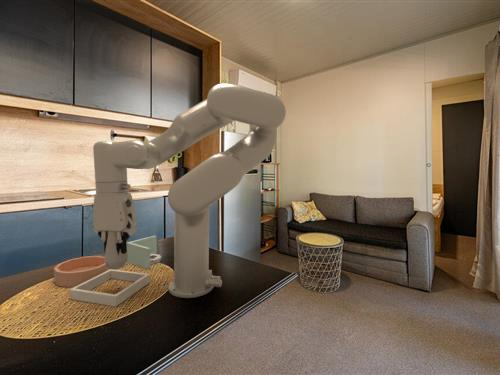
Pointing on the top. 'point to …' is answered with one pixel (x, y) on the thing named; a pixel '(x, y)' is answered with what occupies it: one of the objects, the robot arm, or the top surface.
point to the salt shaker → (114, 253)
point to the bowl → (79, 270)
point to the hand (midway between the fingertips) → (116, 255)
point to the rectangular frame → (85, 295)
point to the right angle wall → (143, 252)
